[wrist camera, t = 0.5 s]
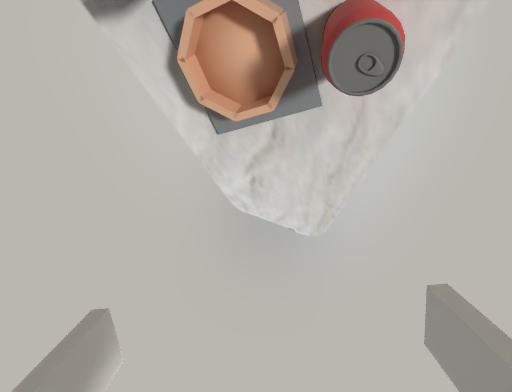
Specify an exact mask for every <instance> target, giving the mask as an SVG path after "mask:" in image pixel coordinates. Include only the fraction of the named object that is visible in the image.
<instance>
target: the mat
mask: <svg viewBox="0 0 512 392" xmlns="http://www.w3.org/2000/svg"><path fill="white" fill-rule="evenodd" d="M201 1H203V0H153V2H154V4H155V6H156V8H157V10H158V12H159V14H160V16H161V18H162V21H163V23H164V25H165V27H166V29H167V31H168V33H169V35H170V37H171V39H172V41H173V43H174V45H175V47H176V49H177V51H178V49H179V44H180V39H181V34H182V29H183V24H184V19H185V14H186V10H188V8H189V7H191V6H193V5H195V4H197V3H199V2H201ZM269 1H271V2H273V3H275V4H276V5H278V6H280V7H281V8H283V9H284V11H286V15H287V19H288V23H289V26H290V30H291V34H292V38H293V42H294V46H295V50H296V54H297V58H298V62H297V65H296V68H295V71H294V73H293V75H292V76H291V78H290V80H289V82H288V84H287V86H286V88H285V90H284V92H283V94H282V96H281V98H280V100H279V102H278V104H277V106H276V107H275V109H274V110H273V111H271V112H268V113H264V114H261V115H257V116H254V117H250V118H247V119H243V120H240V121H233V120H231V119H229V118H227V117H225V116H223V115H222V114H220V113H218V112H216V111H214V110H212V109H210V108H208V107H206V106H205V108H206V110H207V112H208V114H209V116H210V118H211V120H212V122H213V124H214V126H215V128H216V131H217V133H218V134H222V133H226V132H229V131H233V130H237V129H240V128H244V127H247V126H251V125H255V124H258V123H262V122H265V121H269V120H273V119H276V118H280V117H284V116H287V115H291V114H294V113H298V112H302V111H305V110H309V109H312V108H316V107H320V106H322V103H321V99H320V94H319V90H318V86H317V81H316V77H315V72H314V68H313V64H312V59H311V55H310V51H309V46H308V42H307V37H306V33H305V29H304V24H303V20H302V15H301V11H300V7H299V2H298V0H269Z"/></svg>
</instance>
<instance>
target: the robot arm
mask: <svg viewBox="0 0 512 392" xmlns="http://www.w3.org/2000/svg"><path fill="white" fill-rule="evenodd" d="M424 344H425V345H426V347H427V348H428V349H429V351H430V352H431V353H432V355H433V356H434V358H435V359H436V360H437V362H438V363H439V364H440V366H441V367H442V369H443V370H444V371H445V372H446V374H447V375H448V377H449V378H450V380H451V381H452V382H453V384H454V385H455V386H456V388H457V389H458V390H459V392H512V339H511V338H510V337H508V336H507V335H506V334H505V333H504V332H503V331H502V330H500V329H499V328H498V327H497V326H496V325H495V324H493V323H492V322H491V321H490V320H489V319H488V318H486V317H485V316H484V315H483V314H482V313H481V312H479V311H478V310H477V309H476V308H475V307H474V306H472V305H471V304H470V303H469V302H468V301H467V300H465V299H464V298H463V297H462V296H461V295H460V294H458V293H457V292H456V291H455V290H454V289H453V288H452V287H450V286H449V285H448V284H438V285H427V296H426V319H425V341H424ZM123 362H124V359H123V356H122V353H121V349H120V346H119V342H118V339H117V335H116V332H115V328H114V325H113V321H112V318H111V314H110V311H109V309H95V310H91V311H90V312H89V313H88V314H87V315H86V316H85V317H84V318H83V320H82V321H80V323H79V324H78V325H77V326H76V327H75V328H74V329H73V330H72V331H71V332H70V333H69V334H68V335H67V336H66V337H65V338H64V339H63V340H62V341H61V342H60V343H59V344H58V345H57V346H56V347H55V348H54V349H53V350H52V351H51V352H50V353H49V354H48V355H47V356H46V357H45V358H44V359H43V360H42V361H41V362H40V363H39V364H38V365H37V366H36V367H35V368H34V370H32V371H31V372H30V374H28V376H27V377H26V378H25V379H24V380H23V381H22V382H21V383H20V384H19V385H18V386H17V387H16V388H15V389H14V390H13V391H12V392H105V390H106V389H107V387H108V385H109V384H110V382H111V381H112V379H113V377H114V376H115V374H116V373H117V371H118V370H119V368H120V366H121V365H122V363H123Z"/></svg>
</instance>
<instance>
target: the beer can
mask: <svg viewBox="0 0 512 392" xmlns="http://www.w3.org/2000/svg"><path fill="white" fill-rule="evenodd" d="M404 45H405V34H404V31H403V28H402V25H401V22H400V21H399V20H398V19H397V18H396V17H395V15H394V14H393V13H392V12H391V11H389V10H388V9H386V8H385V7H383V6H382V5H381V4H379V3H378V2H376V1H374V0H346V1H345V2H343V3H342V4H341V5H339V6H338V7H337V8H336V9H335V10H334V11H333V13H332V14H331V15H330V16H329V18H328V21H327V23H326V25H325V28H324V34H323V42H322V53H321V61H322V68H323V72H324V74H325V76H326V78H327V80H328V81H329V82H330V83H331V84H332V85H333V86H334V87H335V88H336V89H338V90H339V91H341V92H343V93H345V94H348V95H352V96H363V95H368V94H372V93H374V92H376V91H377V90H379V89H381V88H383V87H384V86H385V85H386V84H387V83H388V82H389V81H391V80H392V78H393V77H394V75H395V74H396V72H397V71H398V69H399V67H400V64H401V61H402V58H403V53H404Z"/></svg>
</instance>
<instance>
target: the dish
mask: <svg viewBox="0 0 512 392" xmlns="http://www.w3.org/2000/svg"><path fill="white" fill-rule="evenodd" d="M177 59H178V60H177V61H178V63H179V65H180V67H181V69H182V71H183V73H184V75H185V77H186V79H187V81H188V83H189V85H190V87H191V89H192V91H193V93H194V95H195V97H196V99H197V101H198V102H199V103H200V104H202V105H204V106H206V107H208V108H210V109H212V110H214V111H216V112H218V113H220V114H222V115H223V116H225V117H227V118H229V119H231V120H233V121H240V120H243V119H247V118H250V117H254V116H257V115H261V114H264V113H268V112H271V111H273V110H274V109H275V107H276V106H277V104H278V102H279V100H280V98H281V96H282V94H283V92H284V90H285V88H286V86H287V84H288V82H289V80H290V78H291V76H292V75H293V73H294V71H295V68H296V65H297V62H298V58H297V54H296V50H295V46H294V42H293V38H292V34H291V30H290V26H289V23H288V19H287V15H286V11H284V9H283V8H281V7H280V6H278V5H276V4H275V3H273V2H271V1H269V0H203V1H201V2H199V3H197V4H195V5H193V6H191V7H189V8H188V10H186V14H185V19H184V24H183V29H182V34H181V39H180V44H179V49H178V55H177Z"/></svg>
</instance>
